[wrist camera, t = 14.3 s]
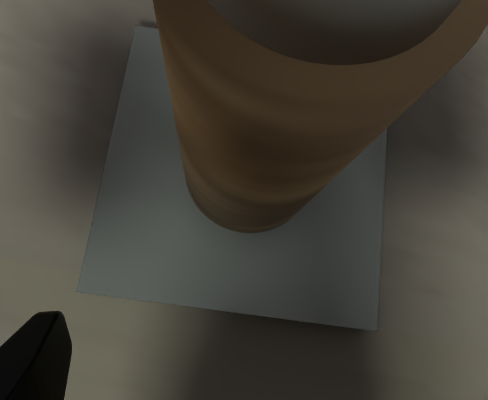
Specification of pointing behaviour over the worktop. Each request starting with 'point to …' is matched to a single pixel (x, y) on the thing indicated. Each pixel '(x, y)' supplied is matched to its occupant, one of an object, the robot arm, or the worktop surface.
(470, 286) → the worktop surface
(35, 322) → the robot arm
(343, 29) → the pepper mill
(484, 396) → the worktop surface
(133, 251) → the slate trivet
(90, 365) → the worktop surface
